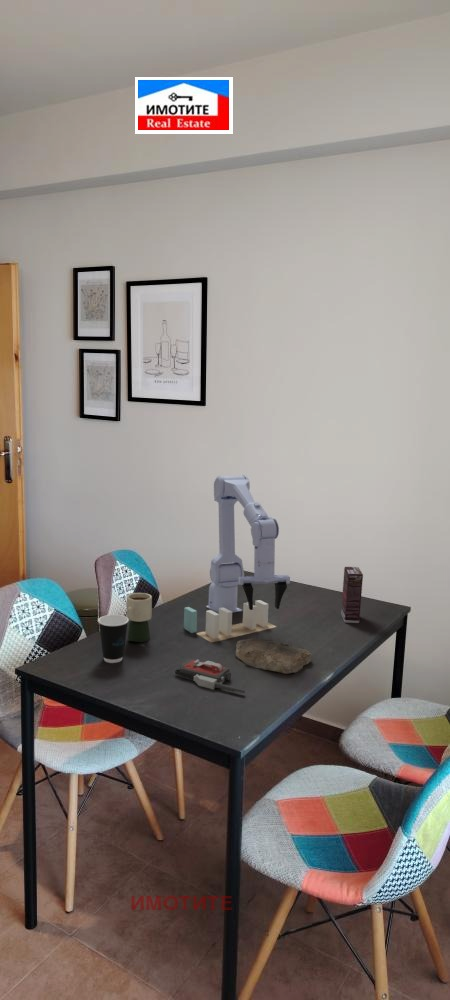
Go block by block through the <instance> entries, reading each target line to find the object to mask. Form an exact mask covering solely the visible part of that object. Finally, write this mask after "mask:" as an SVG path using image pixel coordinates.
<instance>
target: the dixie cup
mask: <svg viewBox="0 0 450 1000" xmlns="http://www.w3.org/2000/svg"><path fill="white" fill-rule="evenodd" d="M129 621H130V620H129V619H128V618H127V616H126V615H121V614H107V615H103V616H100V617H99V618H98V619H97V622H98V624H99V634H100V642H101V650H102V651H101V653H102V657H103V660H104V662H106V663H109V664H114V663H115V664H116V663H120V662H122V661H123V657H124V655H125V647H126V646H125V645H126V639H127V631H128V623H129Z"/></svg>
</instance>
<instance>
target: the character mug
mask: <svg viewBox="0 0 450 1000" xmlns="http://www.w3.org/2000/svg"><path fill="white" fill-rule="evenodd" d="M152 597H153V596H152V595H151V594H149V593H146V592H132V593H129V594H127V595H126V602H125V604H126V614H125V616H126V617H127V618H128V619H129V621H130V622H129V624H128V629H127V631H128V632H127V640H128V641H129V642H134V643H144V642H148V641H149V640H150V639H151V638H150V637H151V636H150V635H151V634H150V626H149V620H151V619H152V613H153V612H152V610H153V609H152V607H153V598H152Z"/></svg>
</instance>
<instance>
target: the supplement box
mask: <svg viewBox="0 0 450 1000" xmlns="http://www.w3.org/2000/svg"><path fill="white" fill-rule="evenodd" d="M363 578H364V574H363V573H362V571H361V569H360V567H358V566H344V568H343V582H342V594H341V595H342V596H341V597H342V598H341V609H340V615H341V616H342V619H343V621H344V623H347V624H359V623H360V619H361V618H360V615H361V607H362V606H361V603H362V593H363V591H362V590H363Z"/></svg>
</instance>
